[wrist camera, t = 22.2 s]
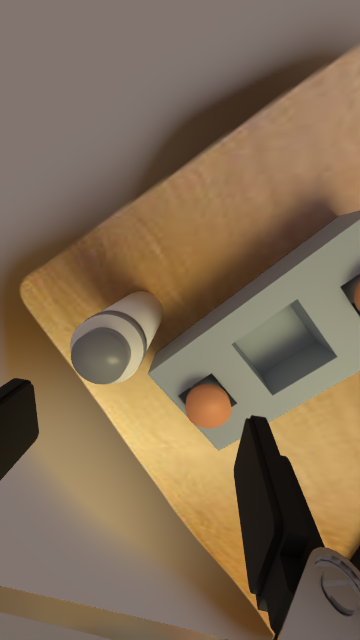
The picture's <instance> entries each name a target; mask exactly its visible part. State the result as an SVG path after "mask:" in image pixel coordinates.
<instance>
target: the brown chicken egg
mask: <svg viewBox="0 0 360 640" xmlns="http://www.w3.org/2000/svg"><path fill="white" fill-rule="evenodd" d="M341 289H342V290H343V292H344V294H345V295H346V297H347V298H348V300H349V301H350V302H352V303H355V305H356V307H357V309H358V310H359V311H360V274H359V275H357V276H356V277H354V278H353V279H351V280H350V281H348V282H347V283H345V284H344V285H342V286H341Z"/></svg>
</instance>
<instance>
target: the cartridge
mask: <svg viewBox="0 0 360 640" xmlns="http://www.w3.org/2000/svg"><path fill="white" fill-rule="evenodd" d="M162 319H163V308H162V305H161V303H160V301H159V300H158V299H157V298H156V297H155V296H154V295H152V294H151V293H148V292H145V291H137V292H133V293H131V294H129V295H128V296H126V297H124V298H123V299H121V300H119V301H118V302H116V303H114V304H113V305H111V306H109V307H108V308H106V309H104V310H103V311H101V312H99V313H97V314H95V315H93V316H91V317H90V318H88V319H87V320H85V321H84V322H83V323H82V324H80V325H79V326H78V327H77V328H76V330H75V331H74V333H73V335H72V338H71V345H70V348H71V360H72V364H73V366H74V368H75V370H76V371H77V372H78V374H79V375H80V376H82V377H83V378H84V379H86V380H87V381H90V382H92V383H95V384H111V383H119V382H122V381H124V380H127V379H128V378H130V377H131V376H132V375H133V374H134V373H135V372H136V370H137V369H138V367H139V366H140V364H141V362H142V360H143V358H144V356H145V354H146V351H147V349H148V347H149V345H150V343H151V341H152V339H153V337H154V335H155V333H156V331H157V329H158V327H159V325H160V324H161V321H162Z"/></svg>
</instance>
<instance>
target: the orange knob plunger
mask: <svg viewBox="0 0 360 640" xmlns="http://www.w3.org/2000/svg"><path fill="white" fill-rule="evenodd" d="M185 410H186V415H187V417H188V418H189V420H190V421H191V422H192V423H193V424H195V425H197V426H199V427H202V428H215V427H219V426H221V425H222V424H224V423H225V422H226V421H227V420H228V419H229V417H230V414H231V404H230V400H229V397H228V395H227V393H226V392H225V391H224V390H223V389H222V388H221V387H220V385H219V381H218V380H217V379H216V378H215V376H214V375H213V374H212V373H211V374H209V375H208V376H206V377H205V378H203V379H202V380H200V381H199V382H197V383H196V384H194V385H193V389H192V390H191V391H190V392H189V393H188V395H187V398H186V407H185Z"/></svg>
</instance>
